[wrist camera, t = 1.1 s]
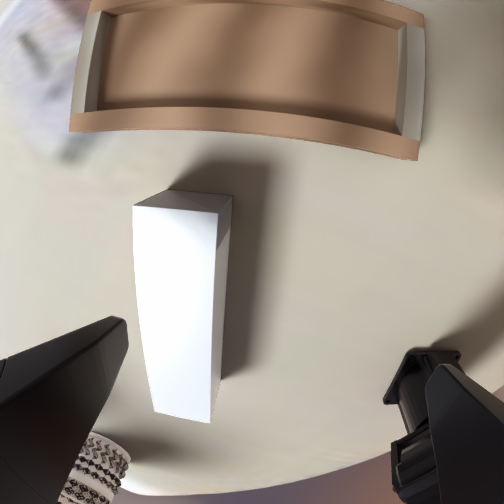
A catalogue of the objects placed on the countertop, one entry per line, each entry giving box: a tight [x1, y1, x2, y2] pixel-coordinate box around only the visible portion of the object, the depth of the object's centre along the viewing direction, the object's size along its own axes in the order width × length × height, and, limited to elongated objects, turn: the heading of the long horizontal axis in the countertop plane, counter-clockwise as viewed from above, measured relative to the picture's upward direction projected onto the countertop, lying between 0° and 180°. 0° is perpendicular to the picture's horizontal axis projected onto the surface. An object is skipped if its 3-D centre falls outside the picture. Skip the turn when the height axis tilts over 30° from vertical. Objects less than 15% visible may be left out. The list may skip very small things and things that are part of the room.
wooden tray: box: [69, 0, 425, 161], centre depth 14 cm, size 21×10×2 cm, turn 84°
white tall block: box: [133, 190, 233, 423], centre depth 19 cm, size 16×4×5 cm, turn 174°
